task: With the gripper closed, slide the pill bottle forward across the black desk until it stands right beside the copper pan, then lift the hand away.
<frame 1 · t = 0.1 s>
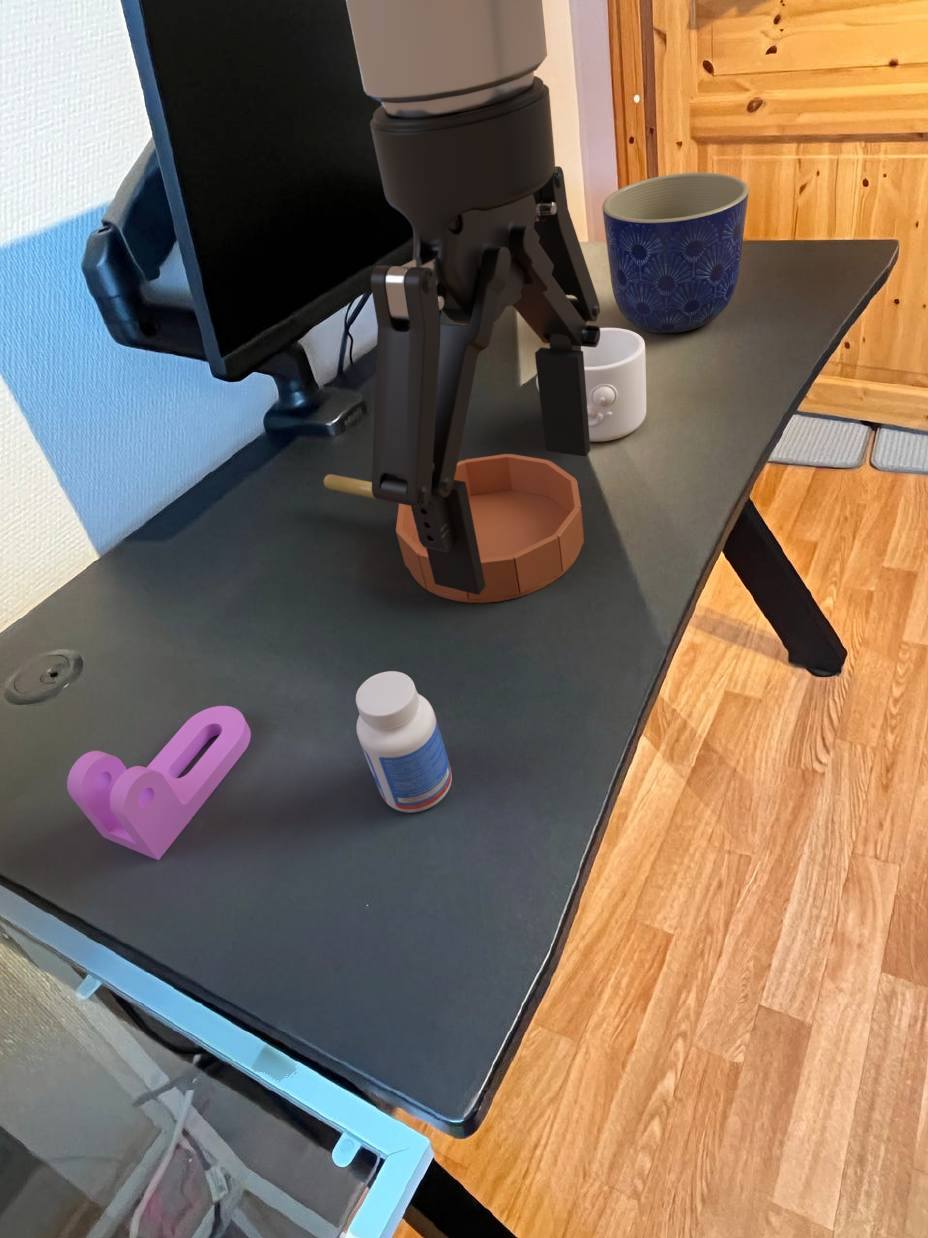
hand: (518, 512, 48), 21 cm above the table, tool pointing down, fingers open, 13 cm apart
bracket: (188, 781, 65), on the table
pan: (493, 544, 81), on the table
mug: (591, 426, 94), on the table
pill bottle: (416, 785, 61), on the table
planter: (673, 320, 111), on the table
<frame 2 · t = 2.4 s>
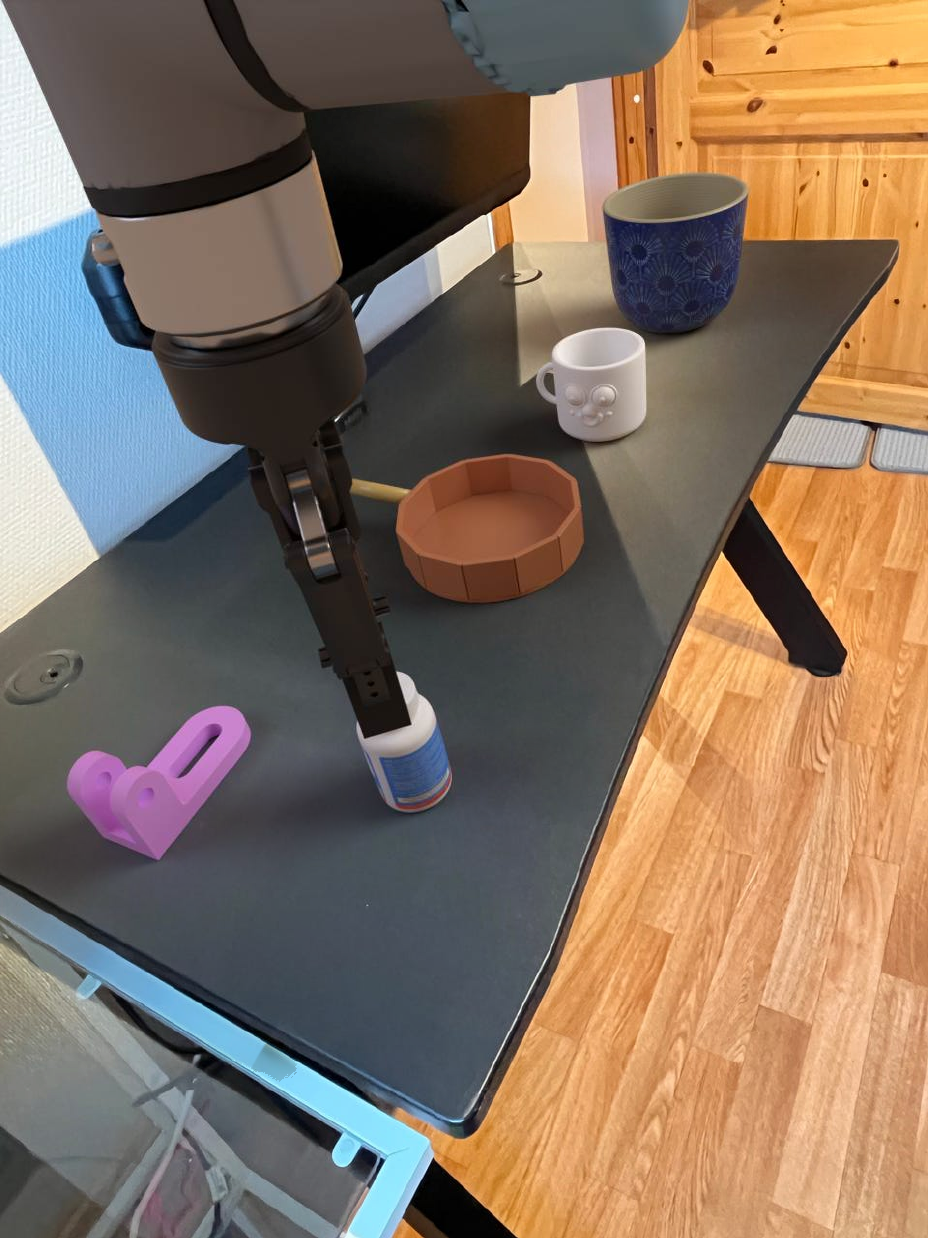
hand: (385, 722, 47), 14 cm above the table, tool pointing down, fingers closed
nothing on the table moved.
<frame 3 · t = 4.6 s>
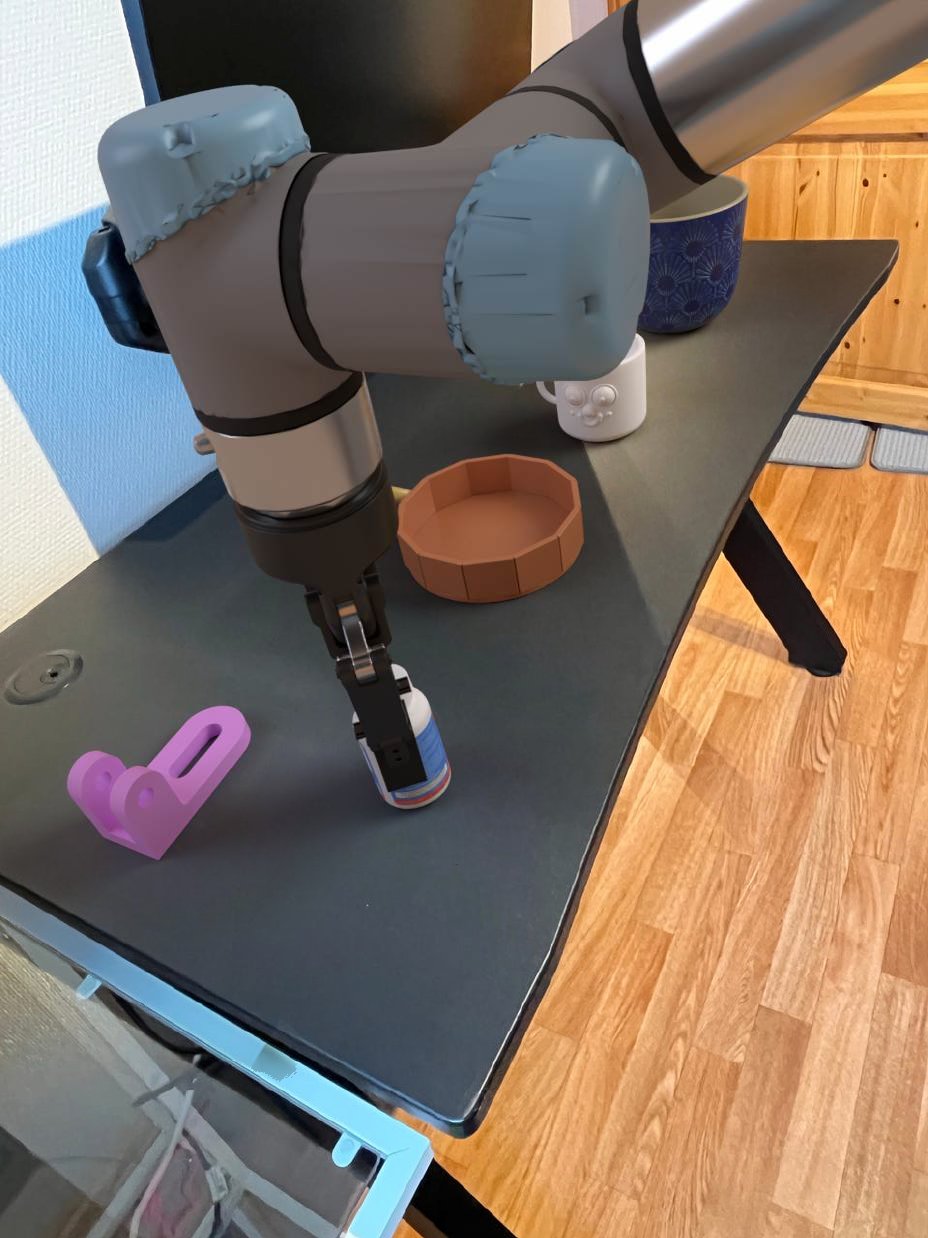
hand: (405, 778, 55), 5 cm above the table, tool pointing down, fingers closed
pill bottle: (416, 783, 61), on the table, touching gripper
everything else where it was.
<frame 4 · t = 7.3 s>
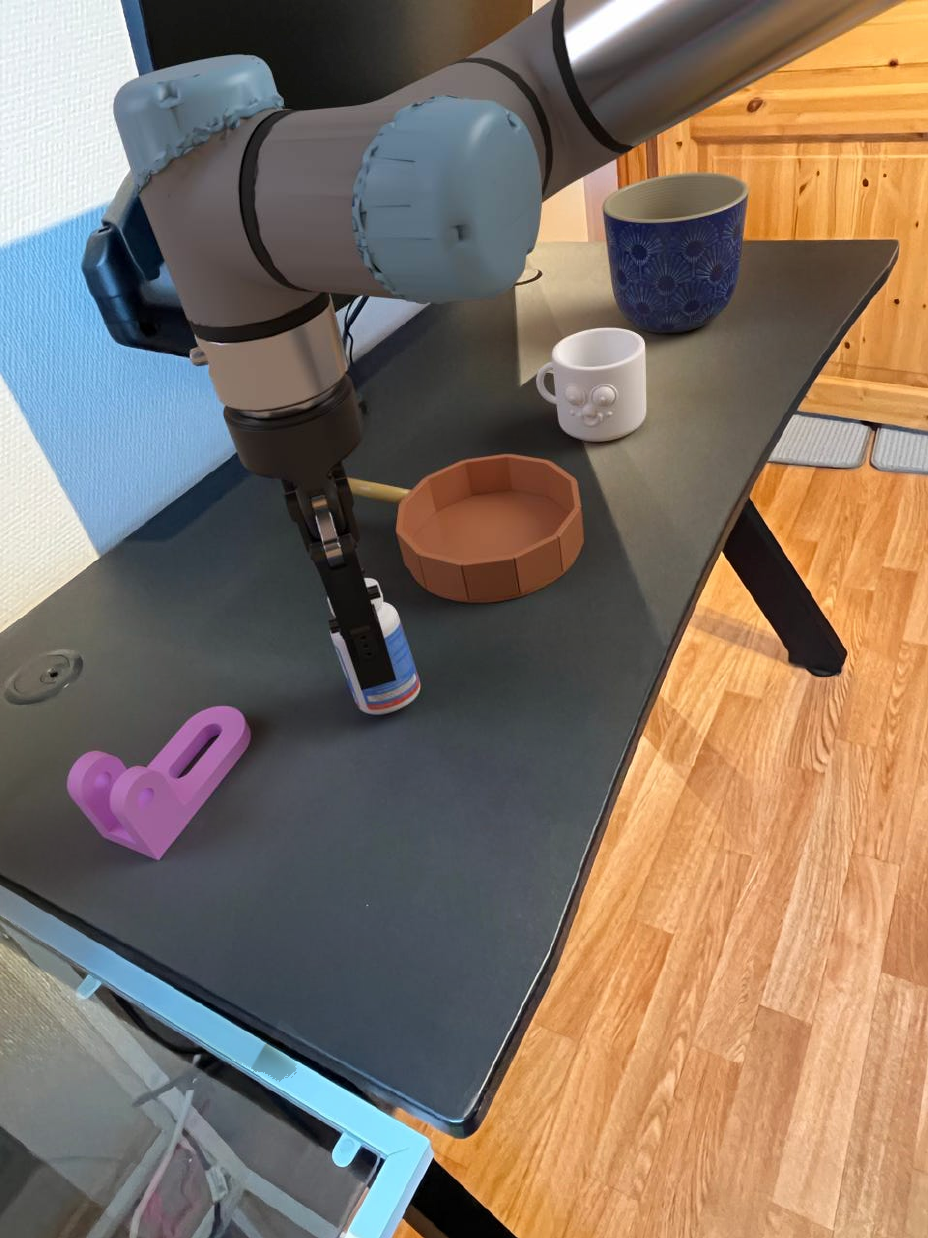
hand: (377, 679, 63), 5 cm above the table, tool pointing down, fingers closed
pill bottle: (389, 698, 68), on the table, touching gripper
everything else where it was.
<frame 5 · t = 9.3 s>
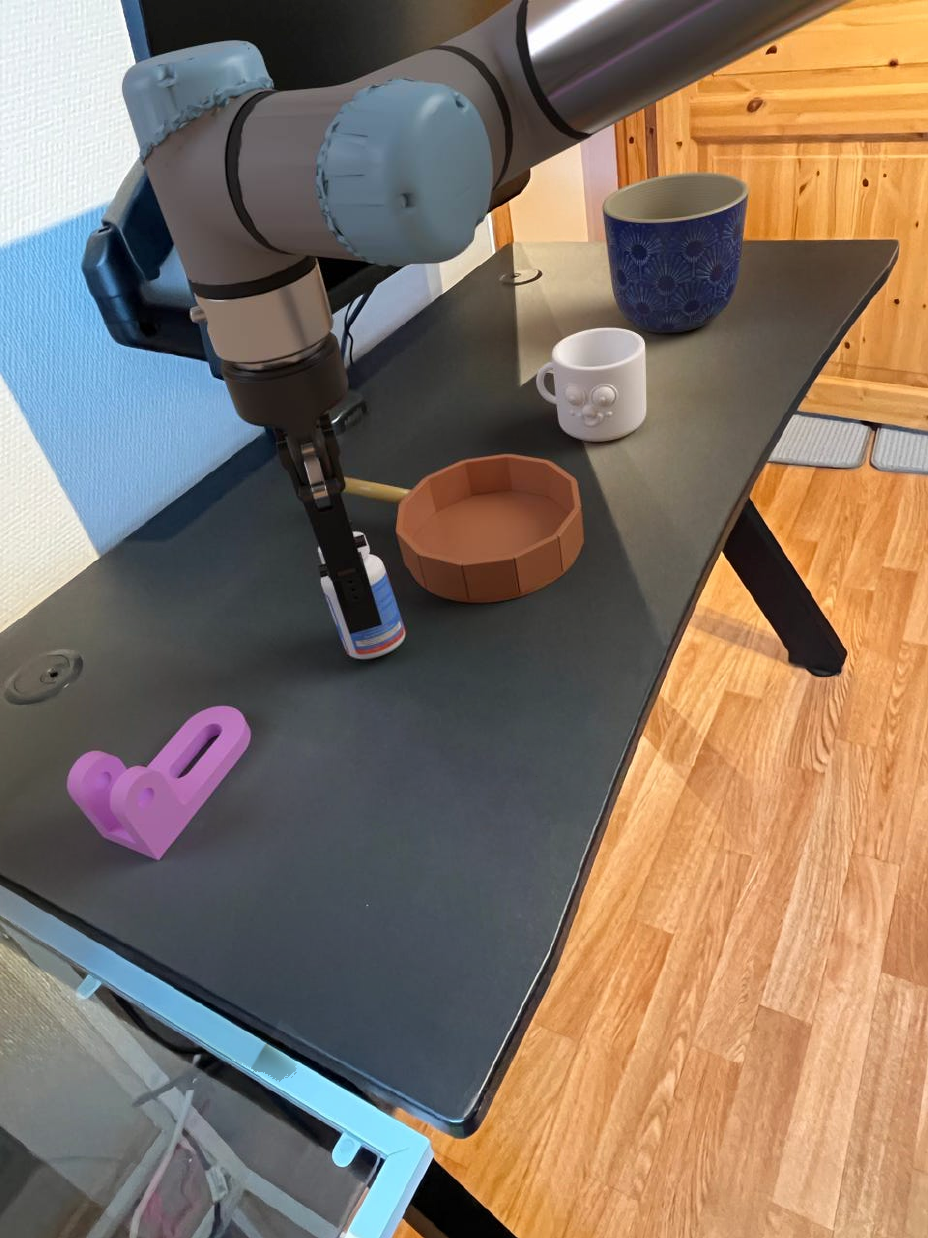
hand: (364, 624, 68), 5 cm above the table, tool pointing down, fingers closed
pill bottle: (376, 645, 72), on the table, touching gripper
everything else where it was.
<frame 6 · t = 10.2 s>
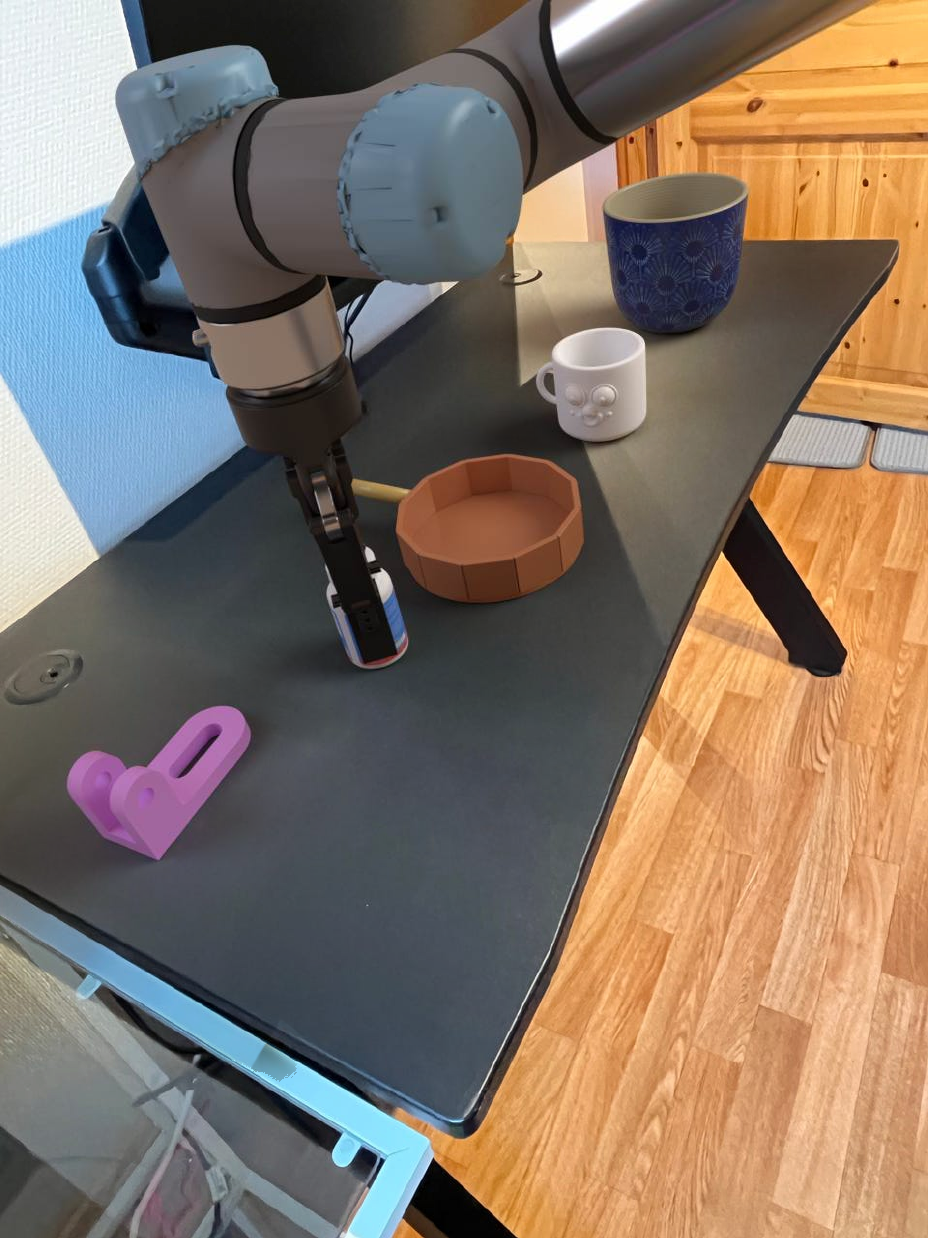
hand: (379, 652, 65), 5 cm above the table, tool pointing down, fingers closed
pill bottle: (378, 650, 73), on the table
everything else where it was.
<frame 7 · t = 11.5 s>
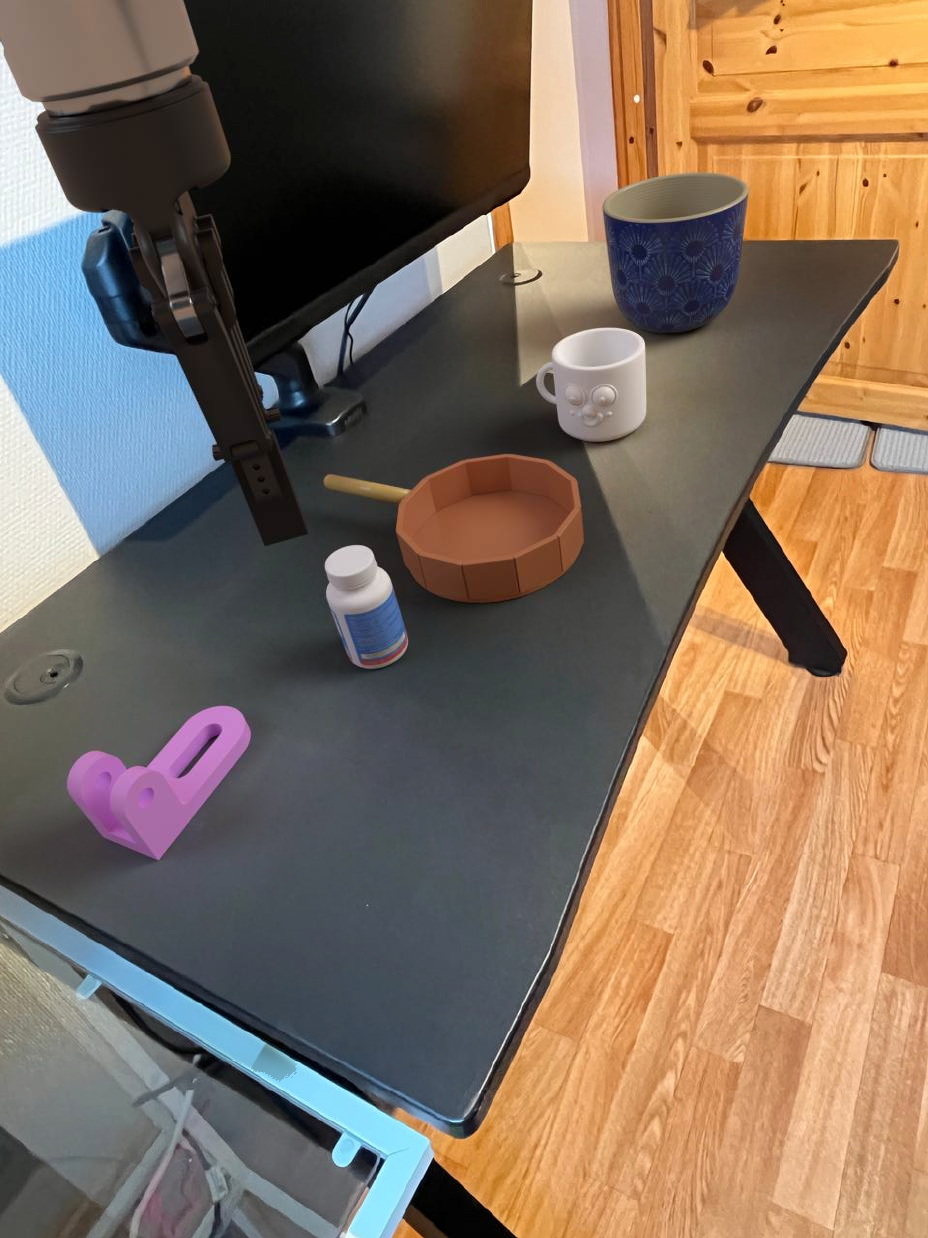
hand: (285, 533, 51), 20 cm above the table, tool pointing down, fingers closed
nothing on the table moved.
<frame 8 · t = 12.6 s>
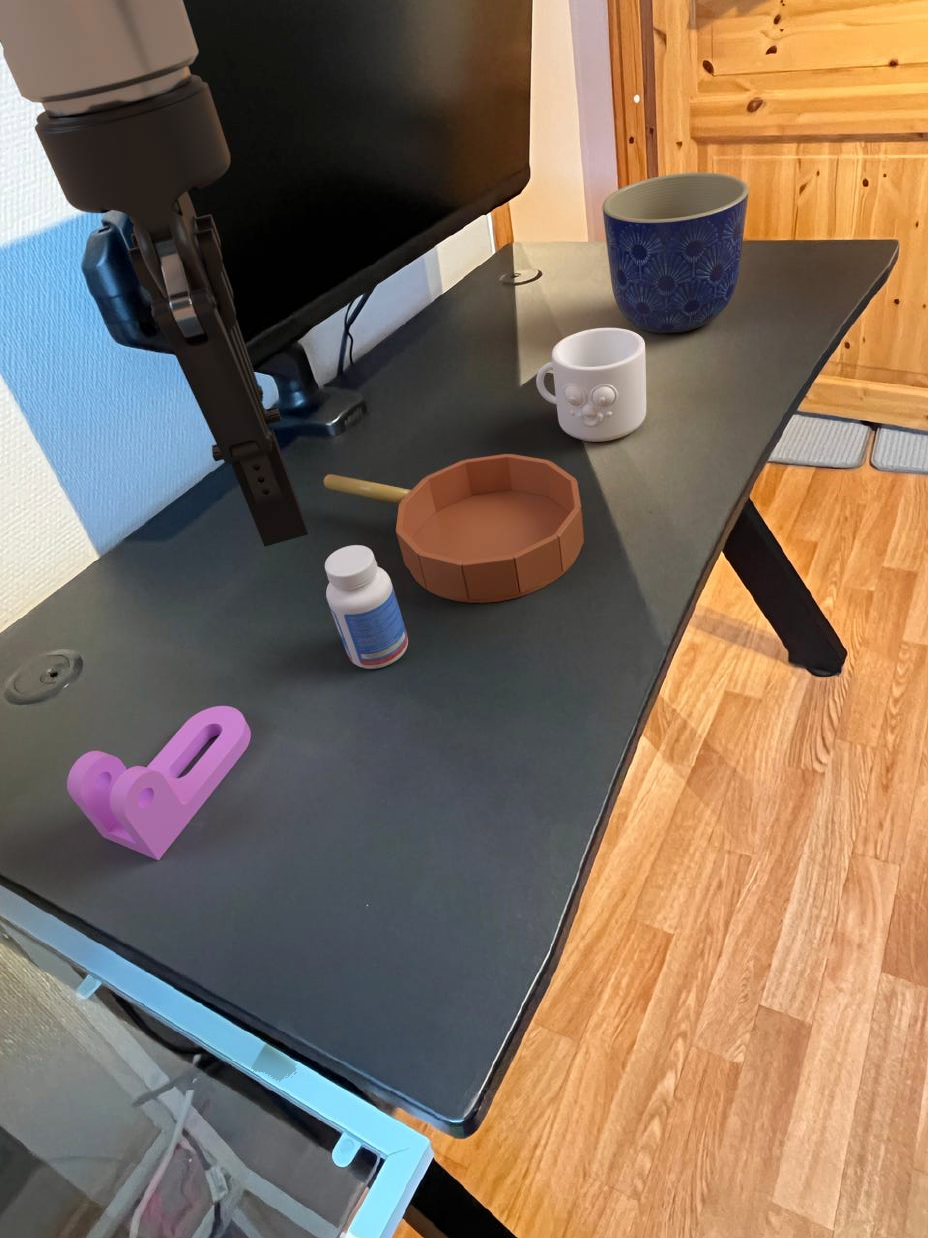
hand: (285, 533, 51), 20 cm above the table, tool pointing down, fingers closed
nothing on the table moved.
at the end: pill bottle 16.4 cm from the pan (horizontally); pill bottle moved 15.3 cm from its start; pill bottle tilted 0° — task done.
